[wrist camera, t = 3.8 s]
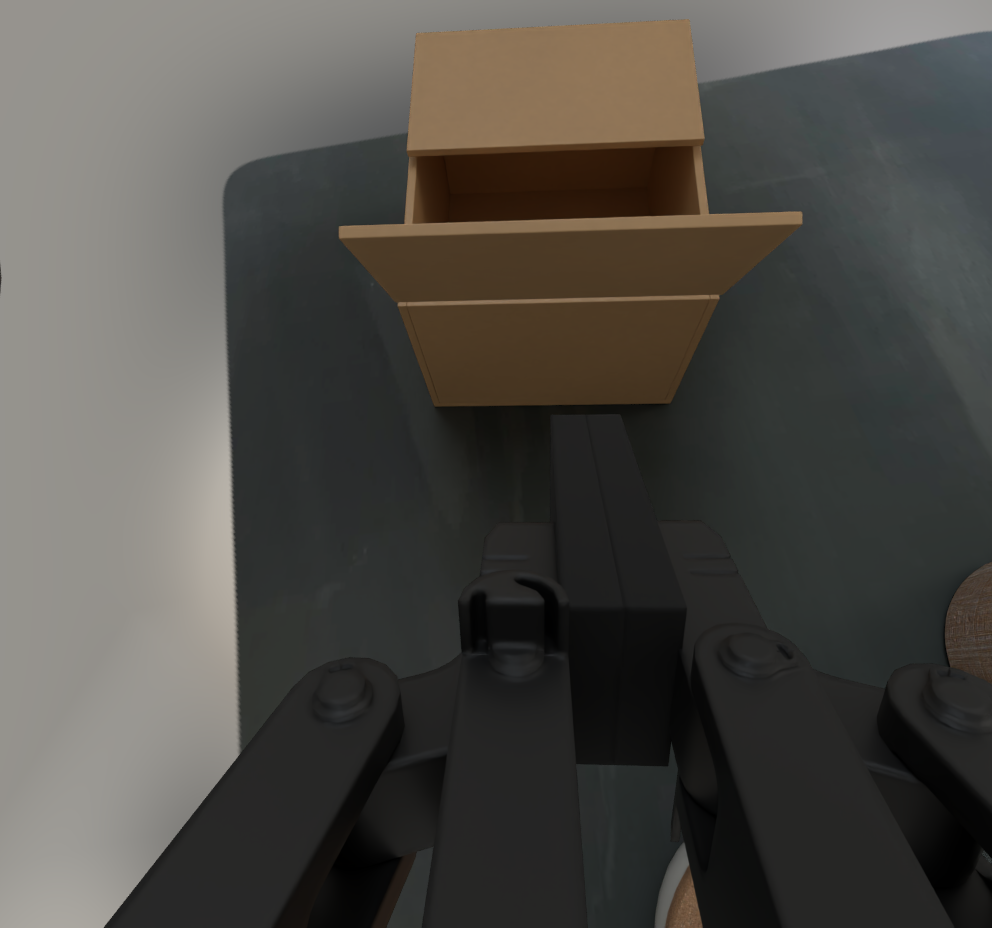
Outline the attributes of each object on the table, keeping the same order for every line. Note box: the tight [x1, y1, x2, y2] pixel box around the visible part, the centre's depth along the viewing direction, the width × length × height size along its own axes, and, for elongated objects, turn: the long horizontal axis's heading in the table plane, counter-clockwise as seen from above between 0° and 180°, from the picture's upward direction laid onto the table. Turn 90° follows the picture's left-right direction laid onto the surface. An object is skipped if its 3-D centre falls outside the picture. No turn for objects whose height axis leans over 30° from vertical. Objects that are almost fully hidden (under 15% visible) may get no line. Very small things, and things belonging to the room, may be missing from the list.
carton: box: [398, 19, 719, 407], centre depth 34 cm, size 16×14×11 cm
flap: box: [339, 212, 802, 302], centre depth 22 cm, size 8×14×1 cm
